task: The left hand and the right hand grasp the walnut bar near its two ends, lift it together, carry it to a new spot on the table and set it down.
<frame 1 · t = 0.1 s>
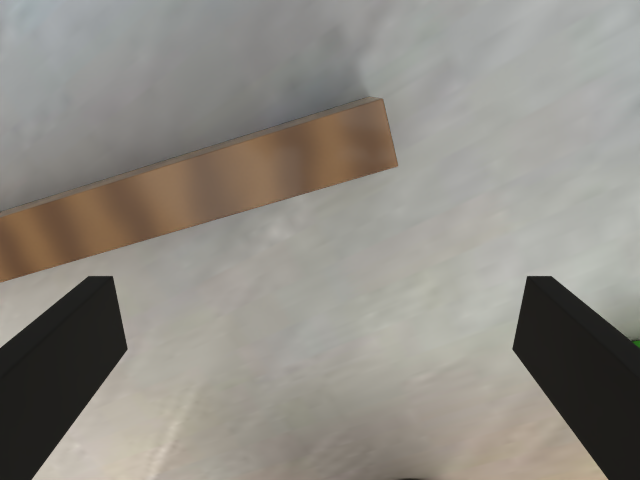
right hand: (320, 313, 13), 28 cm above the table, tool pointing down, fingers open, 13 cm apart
bar: (118, 202, 40), on the table
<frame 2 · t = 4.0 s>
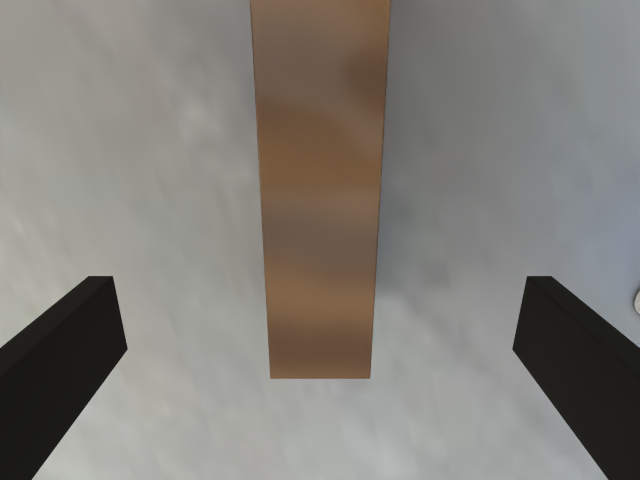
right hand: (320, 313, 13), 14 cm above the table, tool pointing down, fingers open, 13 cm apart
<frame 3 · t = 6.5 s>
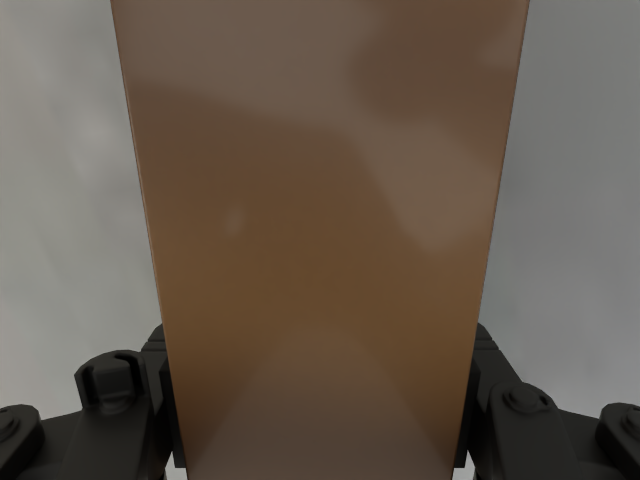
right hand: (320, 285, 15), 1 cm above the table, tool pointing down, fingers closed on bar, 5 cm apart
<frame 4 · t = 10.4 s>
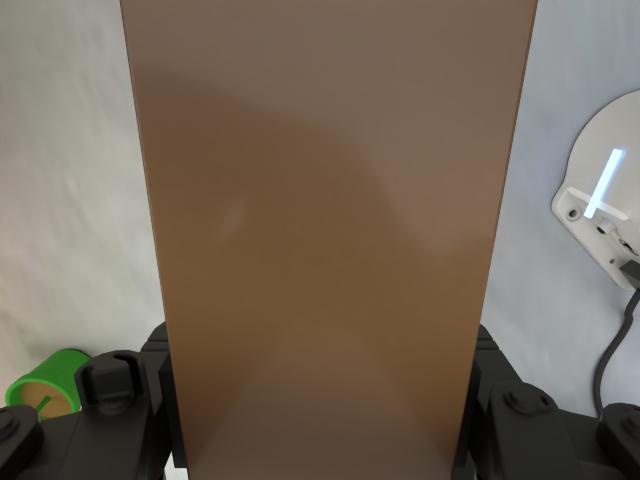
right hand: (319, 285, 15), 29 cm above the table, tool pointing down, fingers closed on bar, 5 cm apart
potted flower: (73, 368, 52), on the table
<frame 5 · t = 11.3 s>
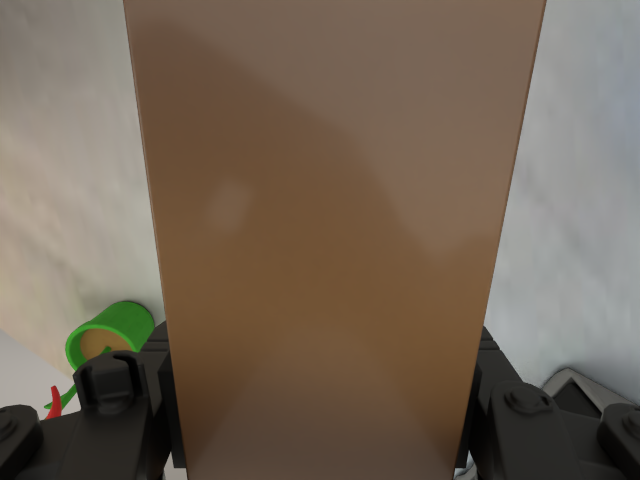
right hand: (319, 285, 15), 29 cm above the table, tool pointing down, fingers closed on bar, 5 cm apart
potted flower: (128, 322, 49), on the table
grey black box: (539, 474, 58), on the table
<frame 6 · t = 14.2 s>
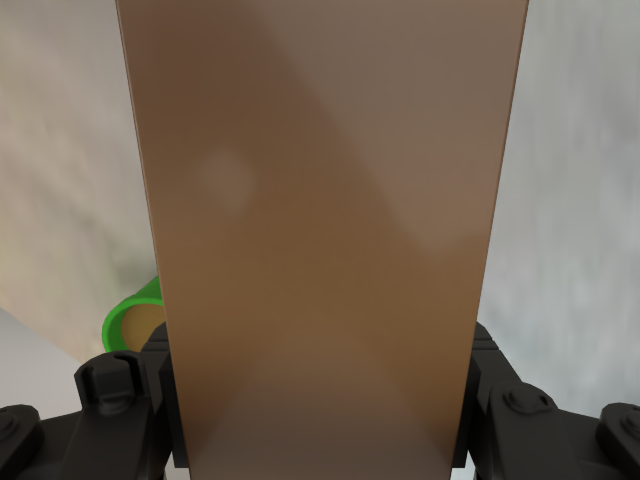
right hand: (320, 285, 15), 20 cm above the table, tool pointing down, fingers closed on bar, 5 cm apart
potted flower: (178, 300, 37), on the table
when the right hand's fingers open (2 cm above the table, at t = 16.4 s): bar drops 1 cm, on the table.
when the left hand's fingers open (4 cm above the table, at t = 16.6 s): bar stays where it is, on the table.
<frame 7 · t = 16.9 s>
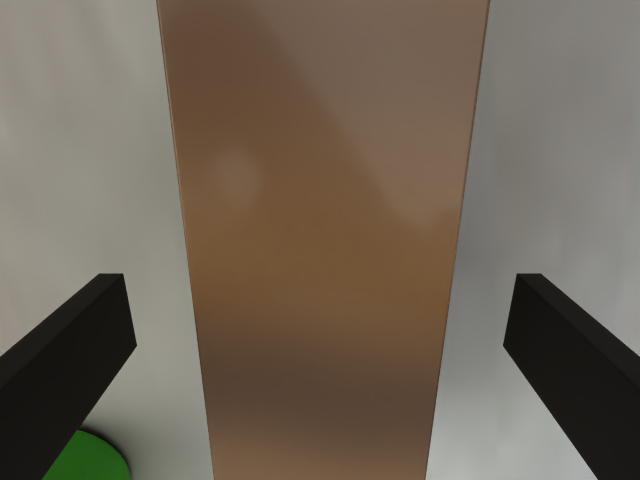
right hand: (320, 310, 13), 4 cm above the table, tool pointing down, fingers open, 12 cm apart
potted flower: (70, 469, 21), on the table
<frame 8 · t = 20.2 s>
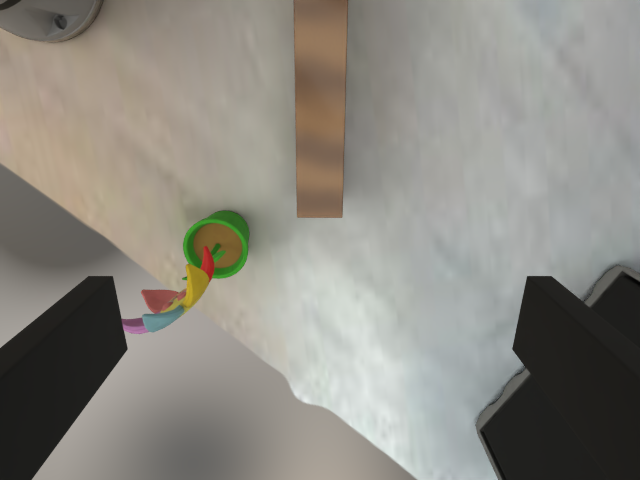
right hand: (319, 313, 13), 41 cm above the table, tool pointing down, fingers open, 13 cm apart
potted flower: (225, 232, 55), on the table
grey black box: (587, 373, 64), on the table
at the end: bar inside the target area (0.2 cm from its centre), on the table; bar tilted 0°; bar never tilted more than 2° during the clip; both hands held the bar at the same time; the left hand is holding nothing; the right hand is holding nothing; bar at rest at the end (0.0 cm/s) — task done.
